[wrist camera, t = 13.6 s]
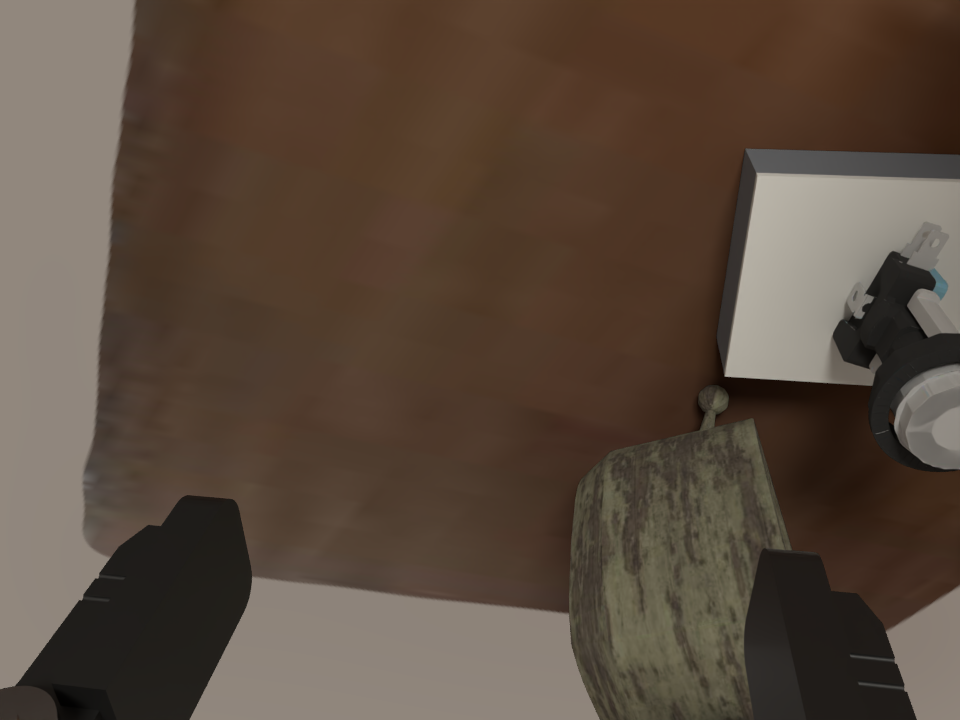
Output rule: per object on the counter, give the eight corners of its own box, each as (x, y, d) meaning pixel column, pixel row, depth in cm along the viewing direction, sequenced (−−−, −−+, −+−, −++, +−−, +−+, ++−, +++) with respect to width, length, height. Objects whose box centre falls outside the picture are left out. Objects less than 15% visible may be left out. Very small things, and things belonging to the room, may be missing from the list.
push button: (871, 200, 35) (954, 307, 26) (990, 238, 35) (1111, 357, 26) (798, 331, 38) (849, 463, 30) (906, 365, 38) (989, 506, 30)
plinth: (745, 148, 38) (757, 175, 35) (974, 155, 37) (1011, 183, 34) (716, 337, 43) (724, 376, 40) (917, 348, 42) (943, 390, 39)
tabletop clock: (794, 550, 50) (925, 1056, 29) (647, 577, 53) (668, 1056, 31) (736, 353, 44) (849, 810, 22) (574, 395, 46) (537, 837, 25)
